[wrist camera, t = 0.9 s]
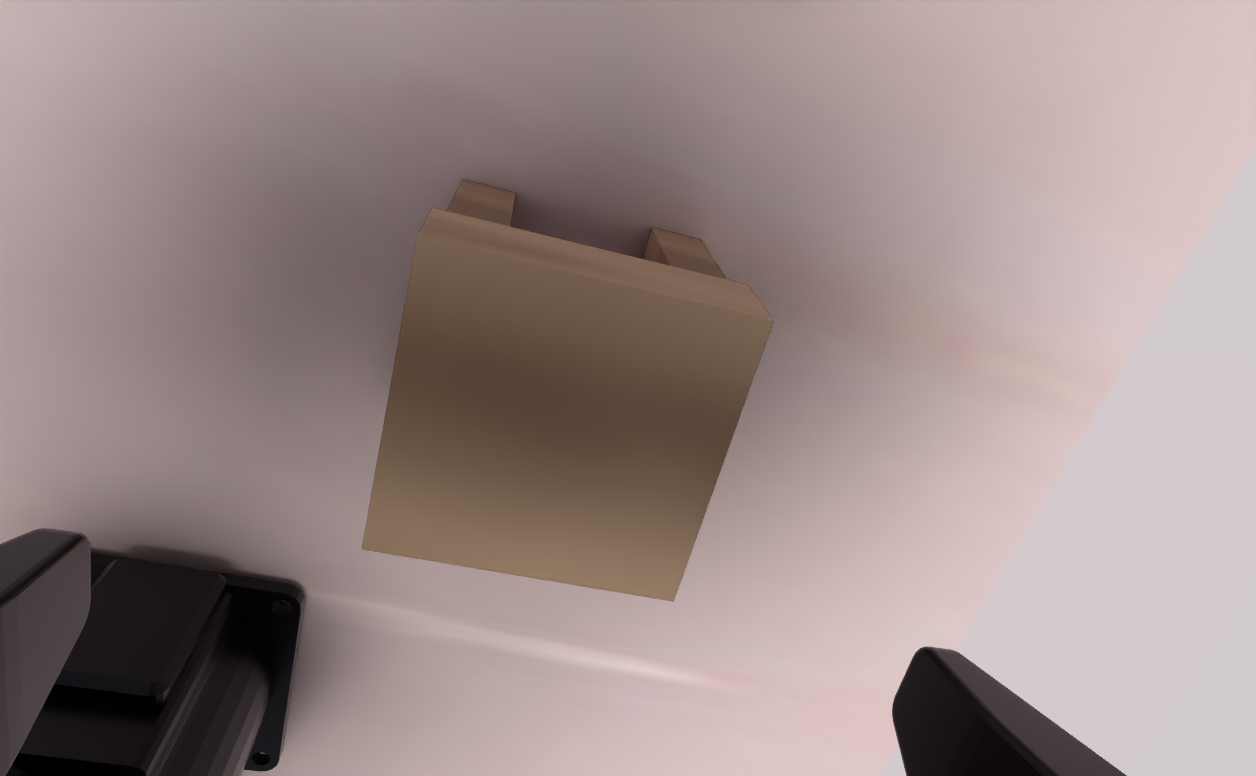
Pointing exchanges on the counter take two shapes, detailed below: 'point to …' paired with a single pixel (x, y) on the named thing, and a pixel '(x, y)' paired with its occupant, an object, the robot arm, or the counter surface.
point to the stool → (559, 401)
